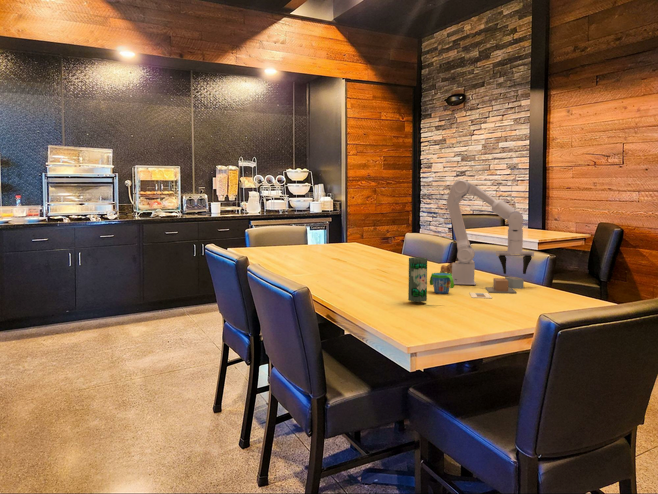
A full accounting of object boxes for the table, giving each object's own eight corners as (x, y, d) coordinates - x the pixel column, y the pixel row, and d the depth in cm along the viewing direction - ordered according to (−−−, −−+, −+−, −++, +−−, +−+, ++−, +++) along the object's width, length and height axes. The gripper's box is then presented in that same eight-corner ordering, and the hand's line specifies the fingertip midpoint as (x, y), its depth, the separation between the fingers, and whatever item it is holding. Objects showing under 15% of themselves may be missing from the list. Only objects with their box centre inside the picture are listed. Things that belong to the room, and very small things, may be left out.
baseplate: (488, 292, 190) (489, 291, 190) (485, 288, 200) (485, 287, 200) (516, 293, 188) (516, 291, 188) (511, 289, 198) (511, 287, 198)
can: (415, 302, 171) (415, 259, 170) (405, 299, 177) (405, 257, 176) (429, 301, 174) (430, 258, 173) (419, 298, 179) (420, 257, 178)
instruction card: (472, 297, 180) (472, 296, 180) (469, 293, 189) (469, 292, 189) (492, 298, 178) (492, 297, 178) (488, 293, 188) (488, 292, 188)
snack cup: (424, 291, 194) (424, 272, 193) (439, 290, 197) (440, 271, 197) (442, 296, 184) (443, 276, 183) (459, 294, 187) (459, 274, 186)
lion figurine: (459, 278, 231) (459, 262, 231) (452, 278, 229) (452, 263, 228) (440, 275, 241) (440, 260, 241) (434, 275, 239) (434, 260, 238)
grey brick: (512, 289, 200) (513, 279, 200) (504, 286, 207) (505, 276, 207) (523, 288, 200) (523, 279, 200) (515, 286, 207) (515, 276, 207)
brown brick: (495, 290, 191) (496, 280, 191) (493, 288, 198) (493, 278, 197) (508, 291, 190) (508, 280, 190) (505, 288, 197) (505, 278, 197)
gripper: (498, 241, 200) (497, 274, 201) (536, 241, 197) (535, 275, 198) (495, 240, 206) (495, 272, 207) (532, 240, 204) (531, 273, 205)
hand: (514, 273), depth 203 cm, fingers open, 7 cm apart
